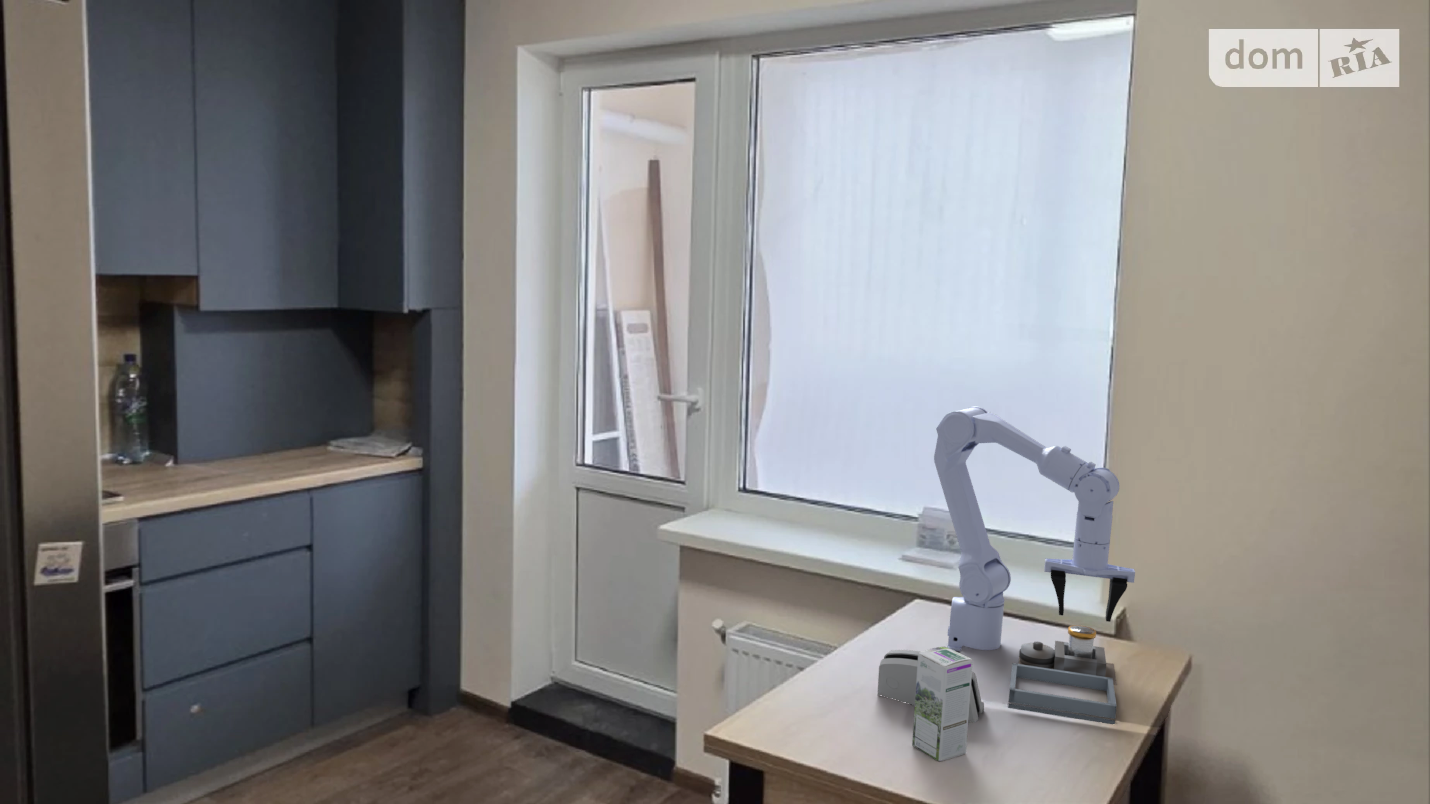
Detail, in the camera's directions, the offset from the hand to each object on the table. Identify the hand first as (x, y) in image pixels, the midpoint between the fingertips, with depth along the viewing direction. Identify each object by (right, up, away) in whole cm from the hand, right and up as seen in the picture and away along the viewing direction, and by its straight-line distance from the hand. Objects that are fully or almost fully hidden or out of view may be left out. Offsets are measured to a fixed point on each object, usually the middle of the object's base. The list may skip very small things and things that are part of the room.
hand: (1084, 616), depth 186 cm
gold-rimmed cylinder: (-1, -9, +1) cm, 9 cm away
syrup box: (-31, -14, -30) cm, 45 cm away
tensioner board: (-3, -10, +2) cm, 11 cm away
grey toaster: (-30, -12, -15) cm, 35 cm away
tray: (-8, -12, -11) cm, 17 cm away
